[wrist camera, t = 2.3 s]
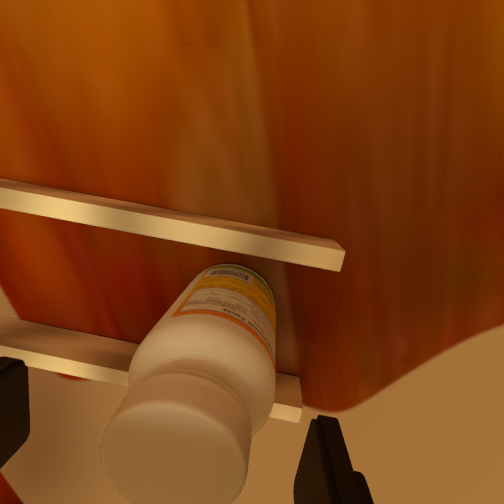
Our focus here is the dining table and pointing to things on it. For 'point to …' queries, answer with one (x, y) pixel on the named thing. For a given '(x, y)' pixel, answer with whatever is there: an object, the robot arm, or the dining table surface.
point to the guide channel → (157, 225)
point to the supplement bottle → (196, 394)
